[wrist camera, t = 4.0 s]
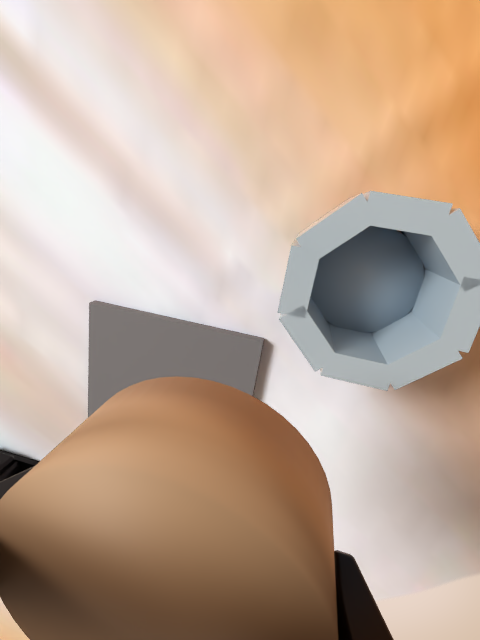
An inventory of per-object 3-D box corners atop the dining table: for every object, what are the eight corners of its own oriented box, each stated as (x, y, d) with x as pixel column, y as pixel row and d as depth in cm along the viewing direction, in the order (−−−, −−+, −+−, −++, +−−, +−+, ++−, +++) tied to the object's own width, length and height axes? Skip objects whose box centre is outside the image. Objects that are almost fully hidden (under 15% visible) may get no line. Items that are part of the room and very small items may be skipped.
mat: (235, 482, 23) (233, 488, 23) (92, 441, 25) (87, 446, 24) (264, 338, 20) (262, 341, 19) (95, 300, 21) (89, 302, 21)
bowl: (415, 361, 18) (446, 404, 14) (276, 331, 19) (267, 363, 15) (468, 215, 16) (526, 215, 12) (305, 189, 17) (304, 180, 13)
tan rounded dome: (299, 618, 10) (292, 782, 7) (84, 542, 11) (4, 658, 8) (366, 418, 7) (394, 546, 5) (81, 348, 8) (-37, 416, 6)
